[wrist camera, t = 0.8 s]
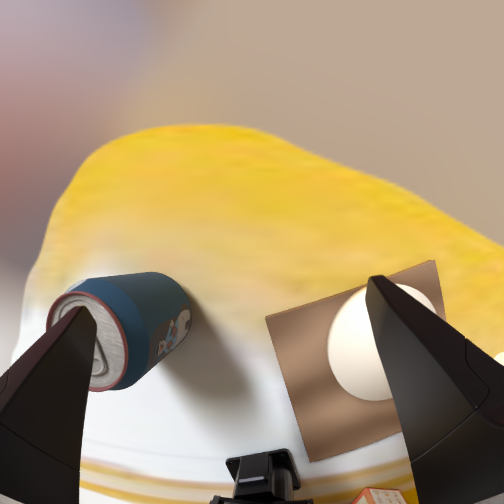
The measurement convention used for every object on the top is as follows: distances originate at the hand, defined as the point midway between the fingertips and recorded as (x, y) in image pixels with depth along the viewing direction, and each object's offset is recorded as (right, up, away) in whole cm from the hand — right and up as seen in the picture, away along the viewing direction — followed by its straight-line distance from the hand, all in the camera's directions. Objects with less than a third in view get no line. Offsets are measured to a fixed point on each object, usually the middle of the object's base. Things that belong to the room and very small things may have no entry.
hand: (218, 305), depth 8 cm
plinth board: (+12, -9, +15) cm, 22 cm away
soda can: (-7, -4, +17) cm, 19 cm away
